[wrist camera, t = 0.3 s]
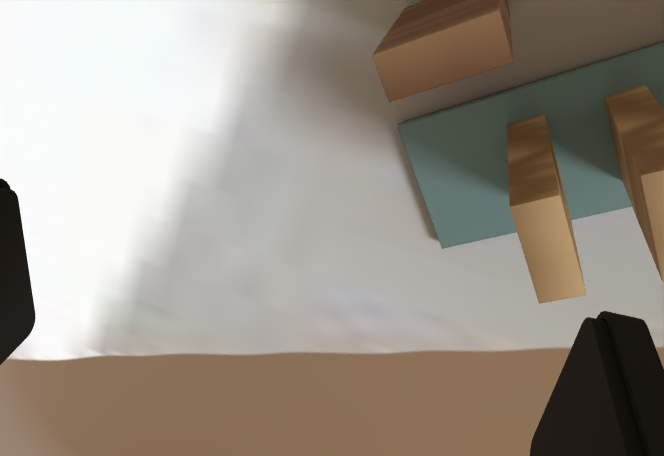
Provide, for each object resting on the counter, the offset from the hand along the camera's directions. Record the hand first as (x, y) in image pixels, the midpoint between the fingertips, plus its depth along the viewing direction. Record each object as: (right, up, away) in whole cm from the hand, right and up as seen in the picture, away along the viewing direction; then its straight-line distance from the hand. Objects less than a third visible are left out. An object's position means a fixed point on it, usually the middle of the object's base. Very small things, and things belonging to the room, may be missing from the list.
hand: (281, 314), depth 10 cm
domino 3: (+17, +6, +23) cm, 29 cm away
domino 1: (+7, +13, +22) cm, 27 cm away
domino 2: (+12, +5, +25) cm, 28 cm away
